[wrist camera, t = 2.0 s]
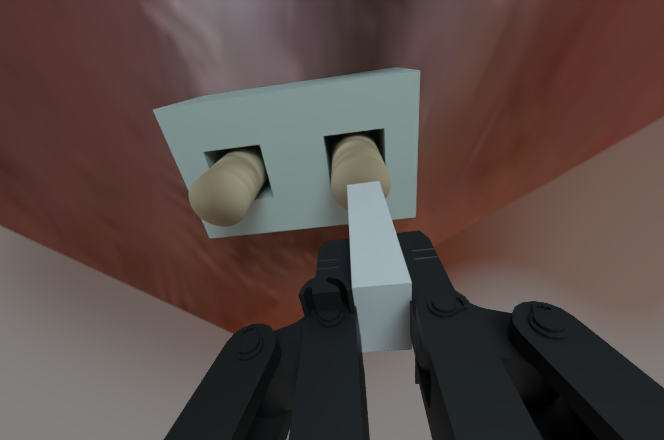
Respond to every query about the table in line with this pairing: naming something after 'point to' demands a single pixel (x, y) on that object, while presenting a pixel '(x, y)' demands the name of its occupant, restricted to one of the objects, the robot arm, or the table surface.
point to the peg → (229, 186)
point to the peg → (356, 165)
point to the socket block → (301, 142)
